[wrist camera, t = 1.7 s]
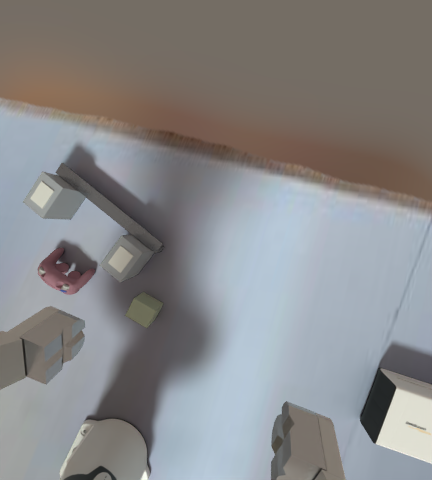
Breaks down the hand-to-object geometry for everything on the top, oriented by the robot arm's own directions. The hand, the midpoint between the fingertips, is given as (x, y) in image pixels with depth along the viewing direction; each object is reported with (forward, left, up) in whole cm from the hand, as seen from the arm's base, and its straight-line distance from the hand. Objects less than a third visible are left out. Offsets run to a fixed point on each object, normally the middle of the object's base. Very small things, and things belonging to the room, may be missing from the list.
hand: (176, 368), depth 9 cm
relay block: (-20, +6, -39) cm, 44 cm away
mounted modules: (-12, +24, -39) cm, 47 cm away
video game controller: (-24, +24, -39) cm, 52 cm away
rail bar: (-8, +24, -39) cm, 46 cm away
